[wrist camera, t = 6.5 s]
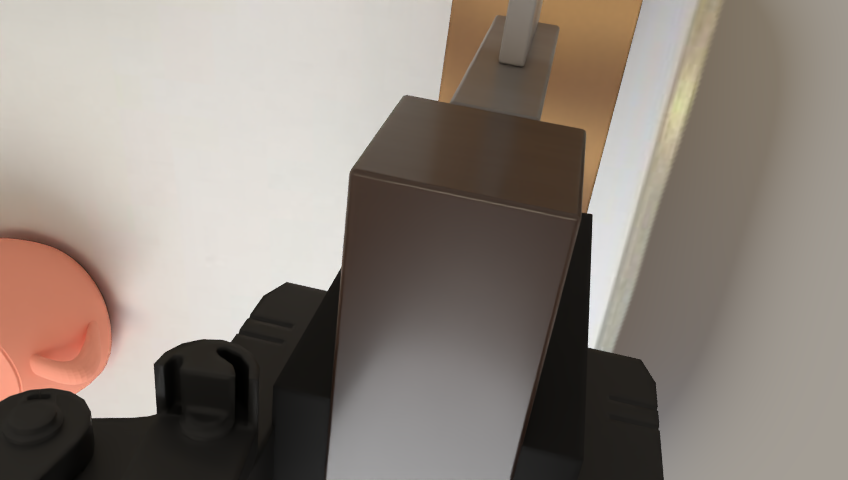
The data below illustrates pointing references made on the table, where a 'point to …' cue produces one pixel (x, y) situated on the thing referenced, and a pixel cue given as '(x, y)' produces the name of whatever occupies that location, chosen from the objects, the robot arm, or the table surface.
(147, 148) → the table surface
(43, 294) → the teapot
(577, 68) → the wood grain block
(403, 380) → the brown and grey bar
